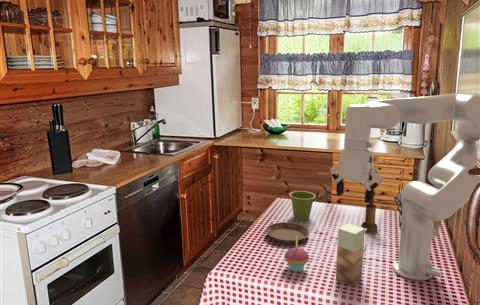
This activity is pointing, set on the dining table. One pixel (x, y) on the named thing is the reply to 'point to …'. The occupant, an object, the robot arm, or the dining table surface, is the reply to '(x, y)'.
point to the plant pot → (302, 204)
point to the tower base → (348, 274)
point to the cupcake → (296, 258)
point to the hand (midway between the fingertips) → (353, 198)
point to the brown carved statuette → (370, 217)
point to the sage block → (351, 237)
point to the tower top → (349, 257)
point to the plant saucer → (287, 232)
